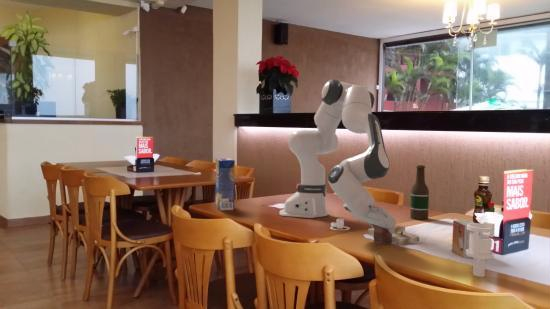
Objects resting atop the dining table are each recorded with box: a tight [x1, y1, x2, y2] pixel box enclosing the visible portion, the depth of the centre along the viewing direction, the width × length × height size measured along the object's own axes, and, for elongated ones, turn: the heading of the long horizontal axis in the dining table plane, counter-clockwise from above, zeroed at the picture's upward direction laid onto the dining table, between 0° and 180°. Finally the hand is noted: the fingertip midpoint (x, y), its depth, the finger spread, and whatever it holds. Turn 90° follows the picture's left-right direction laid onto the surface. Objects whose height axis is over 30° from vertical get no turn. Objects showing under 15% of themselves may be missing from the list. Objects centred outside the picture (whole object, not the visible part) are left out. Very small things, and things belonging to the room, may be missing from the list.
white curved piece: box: [329, 218, 351, 231], centre depth 191 cm, size 9×8×4 cm
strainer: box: [466, 221, 495, 278], centre depth 132 cm, size 7×7×15 cm
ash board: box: [367, 227, 420, 246], centre depth 175 cm, size 9×18×2 cm, turn 25°
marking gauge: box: [373, 225, 406, 246], centre depth 169 cm, size 12×4×9 cm, turn 115°
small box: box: [451, 219, 482, 259], centre depth 153 cm, size 8×6×10 cm
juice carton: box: [214, 158, 236, 211], centre depth 234 cm, size 12×8×24 cm, turn 16°
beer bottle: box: [409, 164, 430, 221], centre depth 213 cm, size 8×8×24 cm
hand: (383, 229), depth 168 cm, fingers open, 8 cm apart
